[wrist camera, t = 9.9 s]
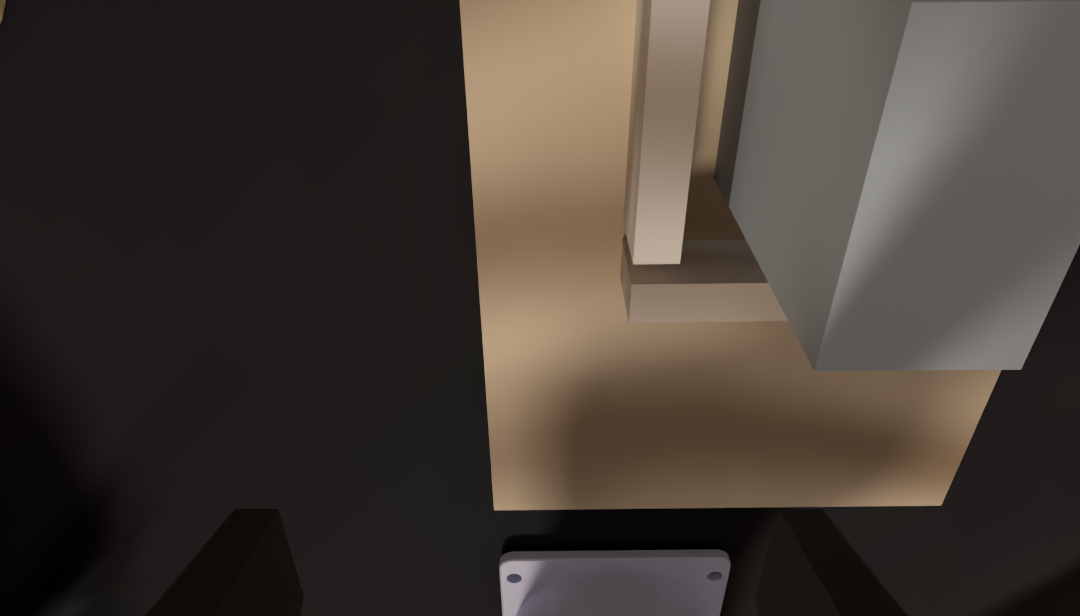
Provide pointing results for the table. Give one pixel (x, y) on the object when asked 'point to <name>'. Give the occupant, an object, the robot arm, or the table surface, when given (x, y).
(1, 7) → the ceramic model
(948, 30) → the peg
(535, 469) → the birch board
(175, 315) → the table surface
